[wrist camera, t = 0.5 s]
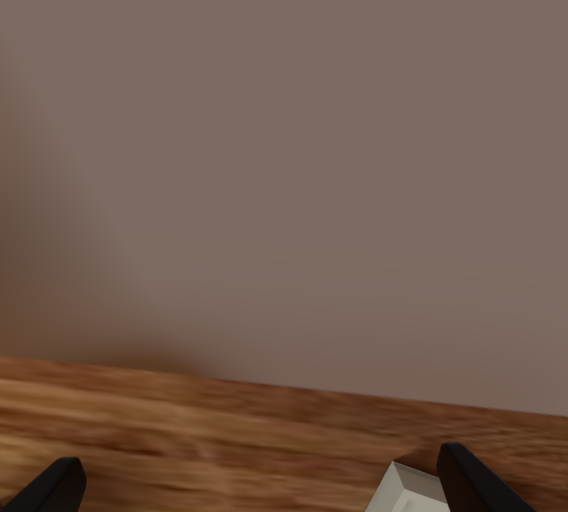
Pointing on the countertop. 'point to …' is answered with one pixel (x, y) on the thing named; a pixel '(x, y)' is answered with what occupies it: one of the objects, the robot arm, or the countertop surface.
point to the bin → (408, 492)
